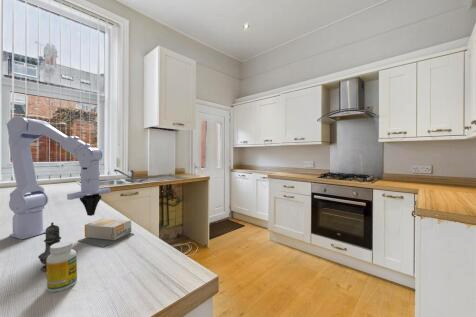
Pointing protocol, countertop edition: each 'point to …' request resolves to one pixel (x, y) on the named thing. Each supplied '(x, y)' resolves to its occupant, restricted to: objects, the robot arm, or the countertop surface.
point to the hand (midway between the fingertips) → (90, 215)
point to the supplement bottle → (61, 266)
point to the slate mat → (102, 240)
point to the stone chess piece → (49, 243)
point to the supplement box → (108, 229)
